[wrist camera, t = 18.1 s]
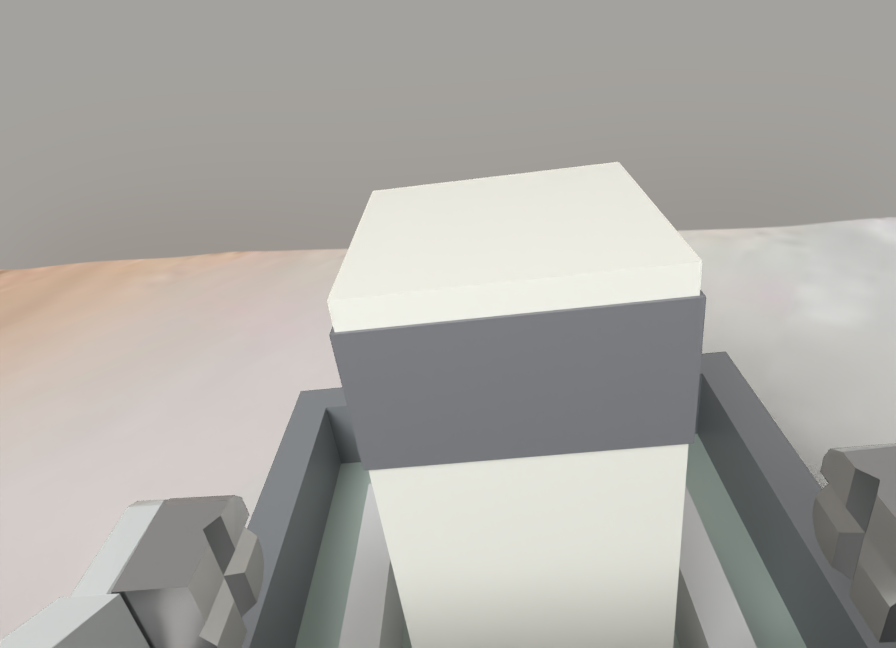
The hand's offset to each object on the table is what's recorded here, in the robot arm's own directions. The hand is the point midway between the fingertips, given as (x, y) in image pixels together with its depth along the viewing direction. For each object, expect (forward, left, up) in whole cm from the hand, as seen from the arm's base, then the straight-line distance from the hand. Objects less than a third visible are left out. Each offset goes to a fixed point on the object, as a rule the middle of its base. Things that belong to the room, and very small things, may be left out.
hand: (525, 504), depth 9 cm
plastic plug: (0, -2, -6) cm, 6 cm away
